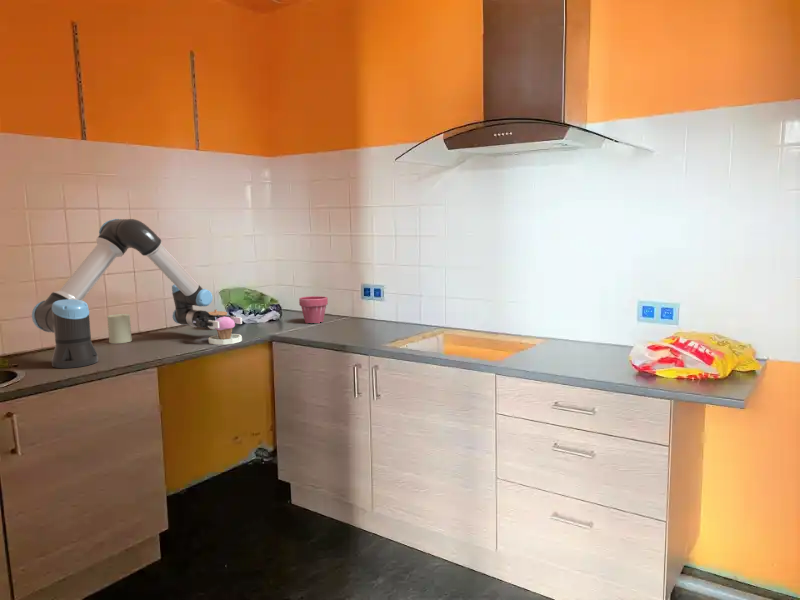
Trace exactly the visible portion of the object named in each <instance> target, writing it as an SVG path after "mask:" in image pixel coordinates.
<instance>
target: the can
mask: <svg viewBox="0 0 800 600" xmlns="http://www.w3.org/2000/svg"><path fill="white" fill-rule="evenodd" d="M106 318H107V326H108V327H107V328H108V343H109V344H113V345H114V344H126V343H129V342H133V338H132V327H131V326H132V325H131V315H130V313H120V314H119V313H118V314H117V313H116V314H110V315H107V317H106Z"/></svg>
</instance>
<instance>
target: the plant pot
mask: <svg viewBox="0 0 800 600" xmlns="http://www.w3.org/2000/svg"><path fill="white" fill-rule="evenodd" d="M298 299H299V302H298V303H299V306H300V307H301V311H302V316H303V319H304V323H305V324H308V323H318V324H321V323H320V322H323V323H324V320H325V319H324V318H325V316H326V315H325V314H326V308H327V305H328V303H329V302H328V301H329V300H328V297H327V296H320V295H316V296H315V295H313V296H302V297H299V298H298Z"/></svg>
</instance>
